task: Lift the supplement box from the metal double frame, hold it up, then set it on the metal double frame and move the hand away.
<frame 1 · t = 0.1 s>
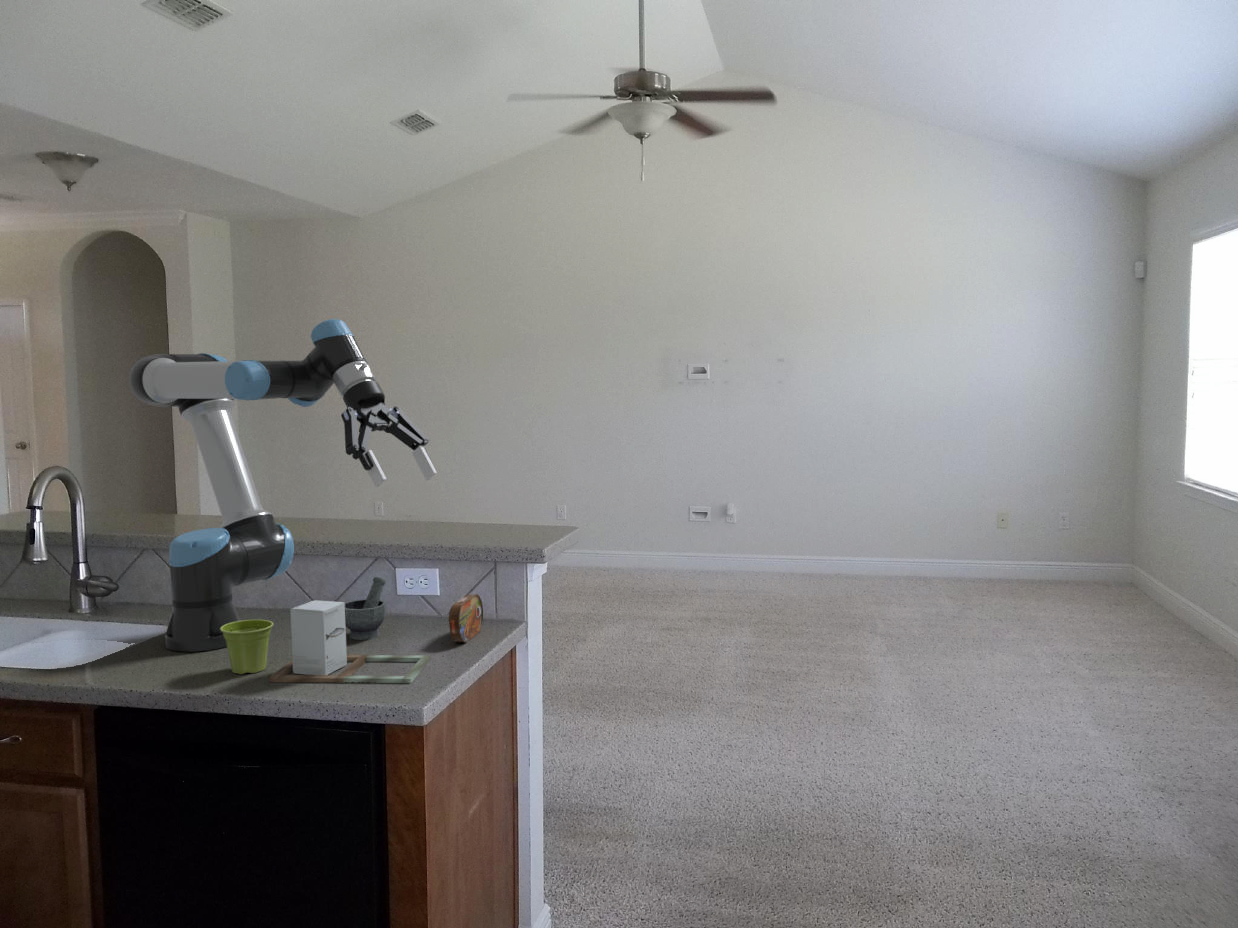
hand: (407, 479, 184), 36 cm above the worktop, tool tilted 35°, fingers open, 13 cm apart
supplement box: (320, 670, 182), resting in metal double frame
mortar and pestle: (367, 635, 206), on the worktop
metal double frame: (356, 670, 181), on the worktop
plant pot: (249, 670, 183), on the worktop
tin: (466, 637, 203), on the worktop
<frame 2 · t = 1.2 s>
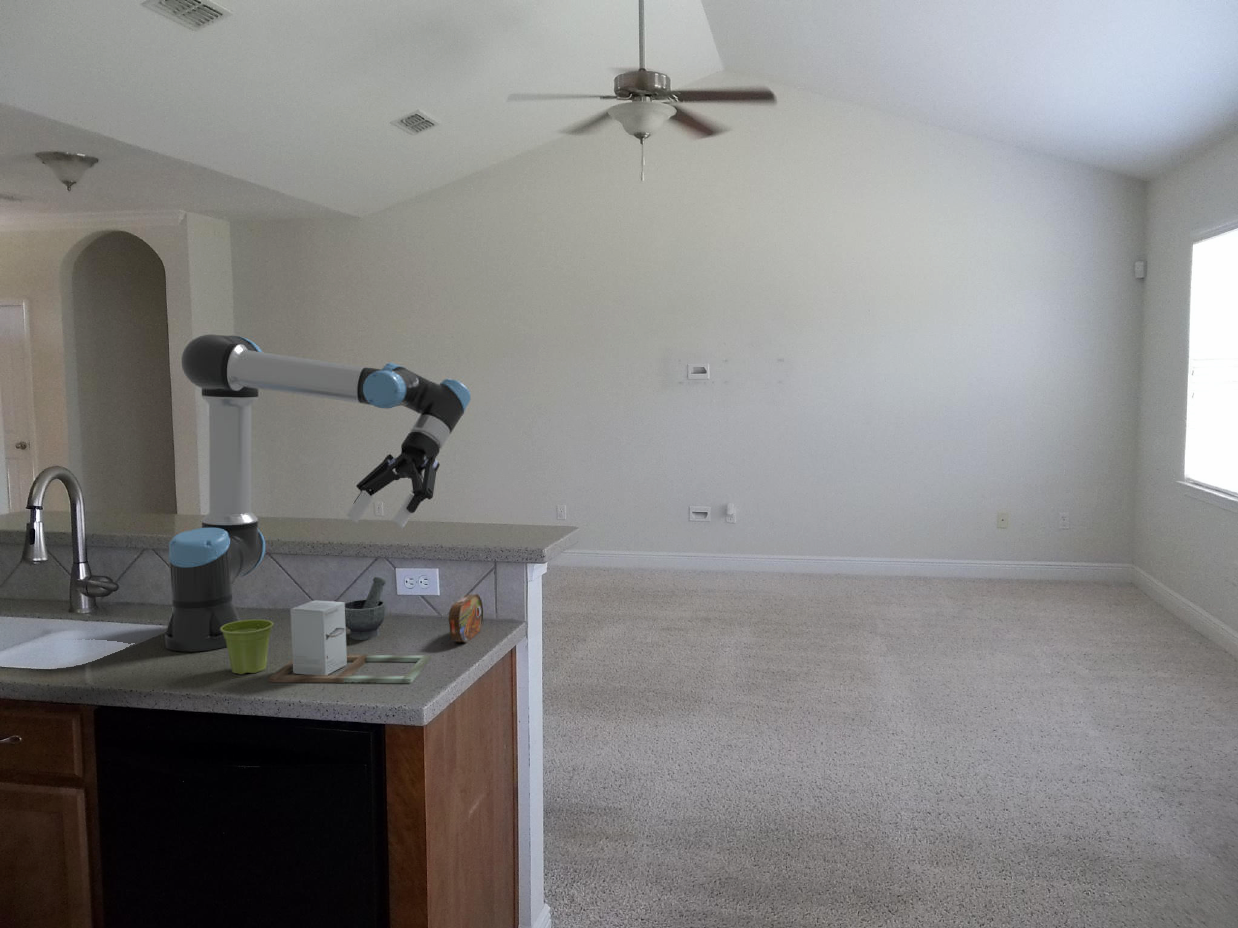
hand: (374, 521, 192), 26 cm above the worktop, tool tilted 45°, fingers open, 13 cm apart
nothing on the worktop moved.
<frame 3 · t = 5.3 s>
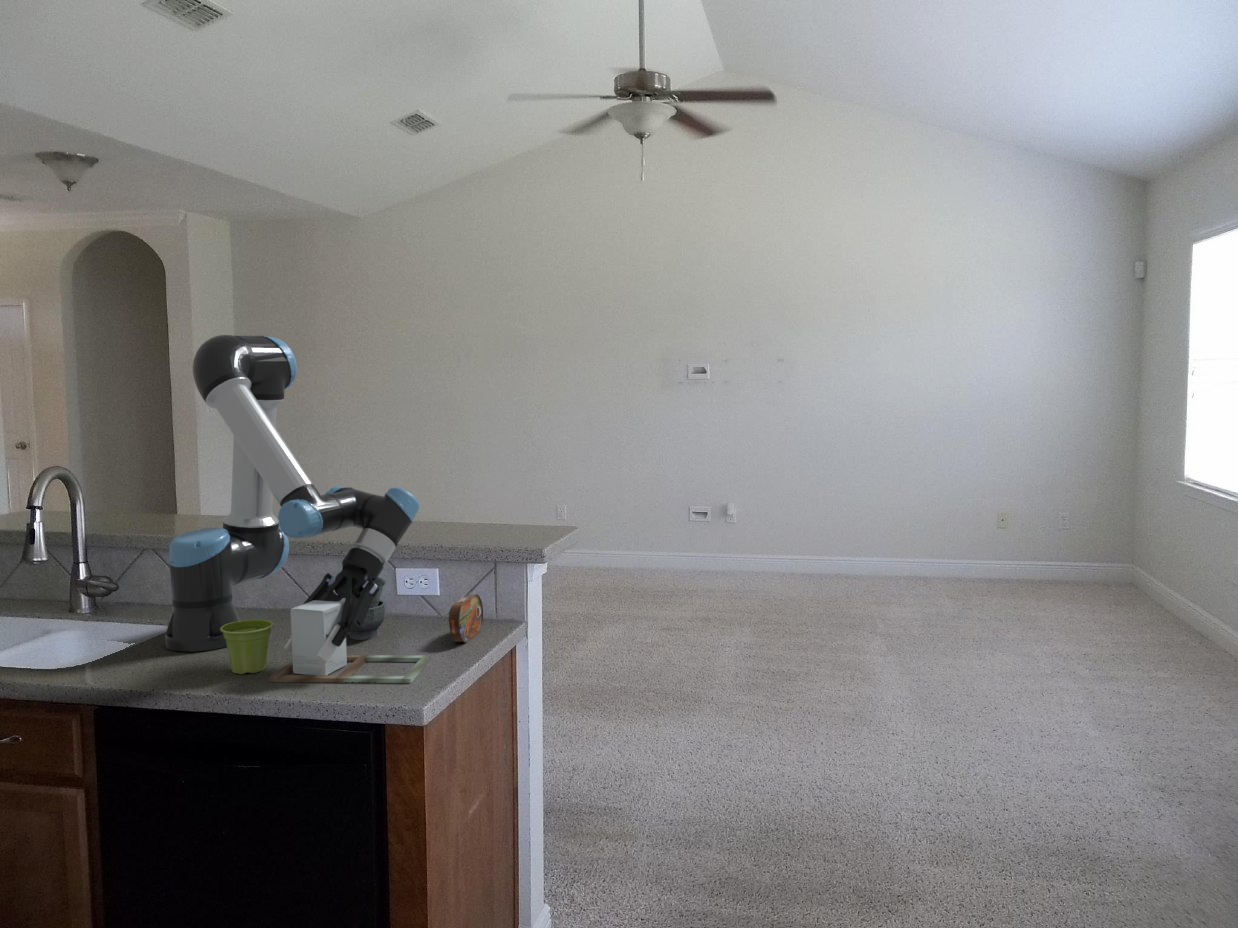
hand: (305, 655, 179), 4 cm above the worktop, tool tilted 45°, fingers closed on supplement box, 9 cm apart
supplement box: (320, 670, 182), resting in metal double frame, touching gripper
everything else where it was.
when the fingers open (5 cm above the worktop, at t = 12.0 s): supplement box drops 2 cm, resting in metal double frame.
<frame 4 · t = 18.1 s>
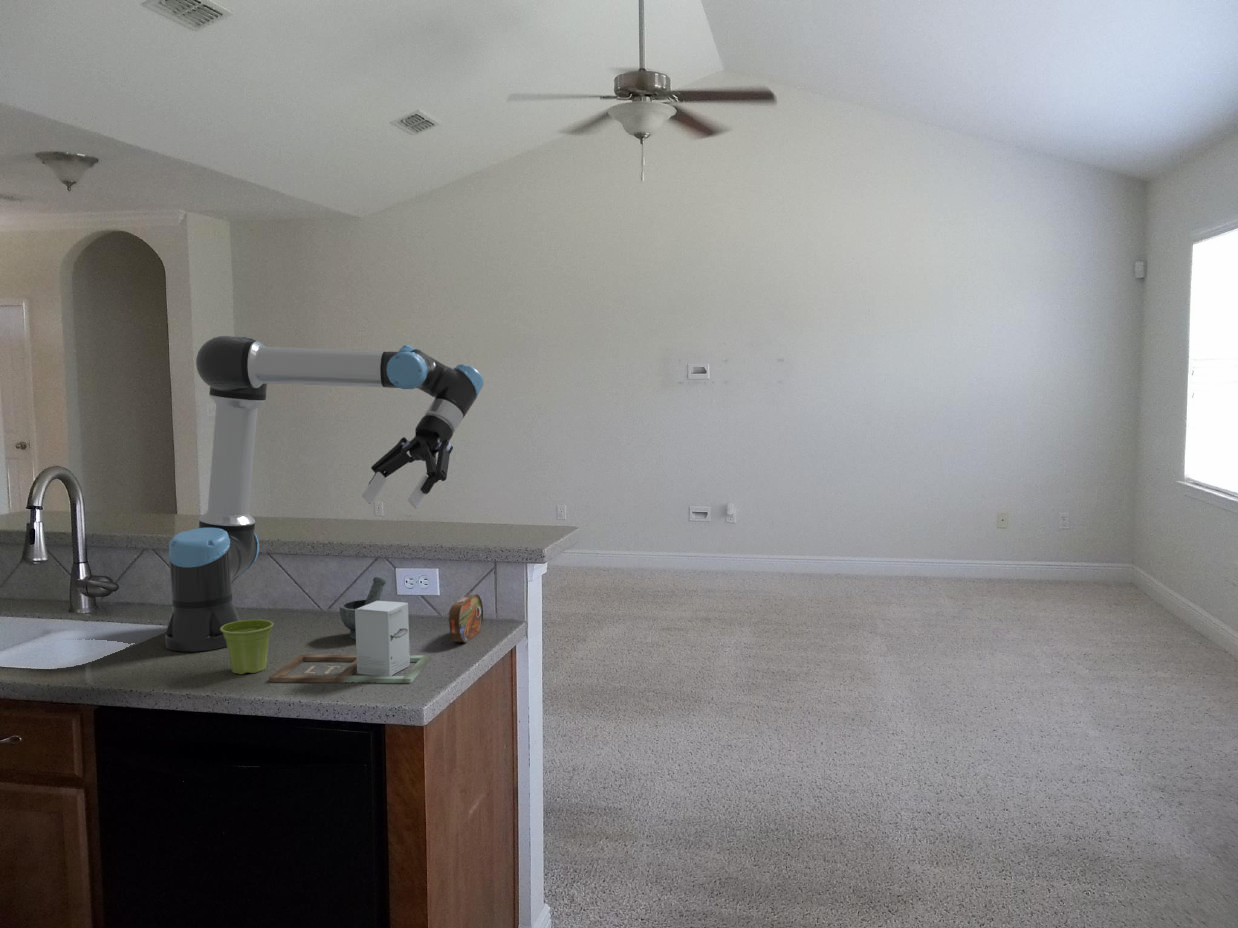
hand: (388, 502, 196), 30 cm above the worktop, tool tilted 45°, fingers open, 13 cm apart
supplement box: (384, 671, 181), resting in metal double frame
everything else where it was.
at the end: supplement box 0.3 cm from the target spot on the metal double frame, point 0.0 cm above the metal double frame's base; supplement box tilted 0°; the gripper is holding nothing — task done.
